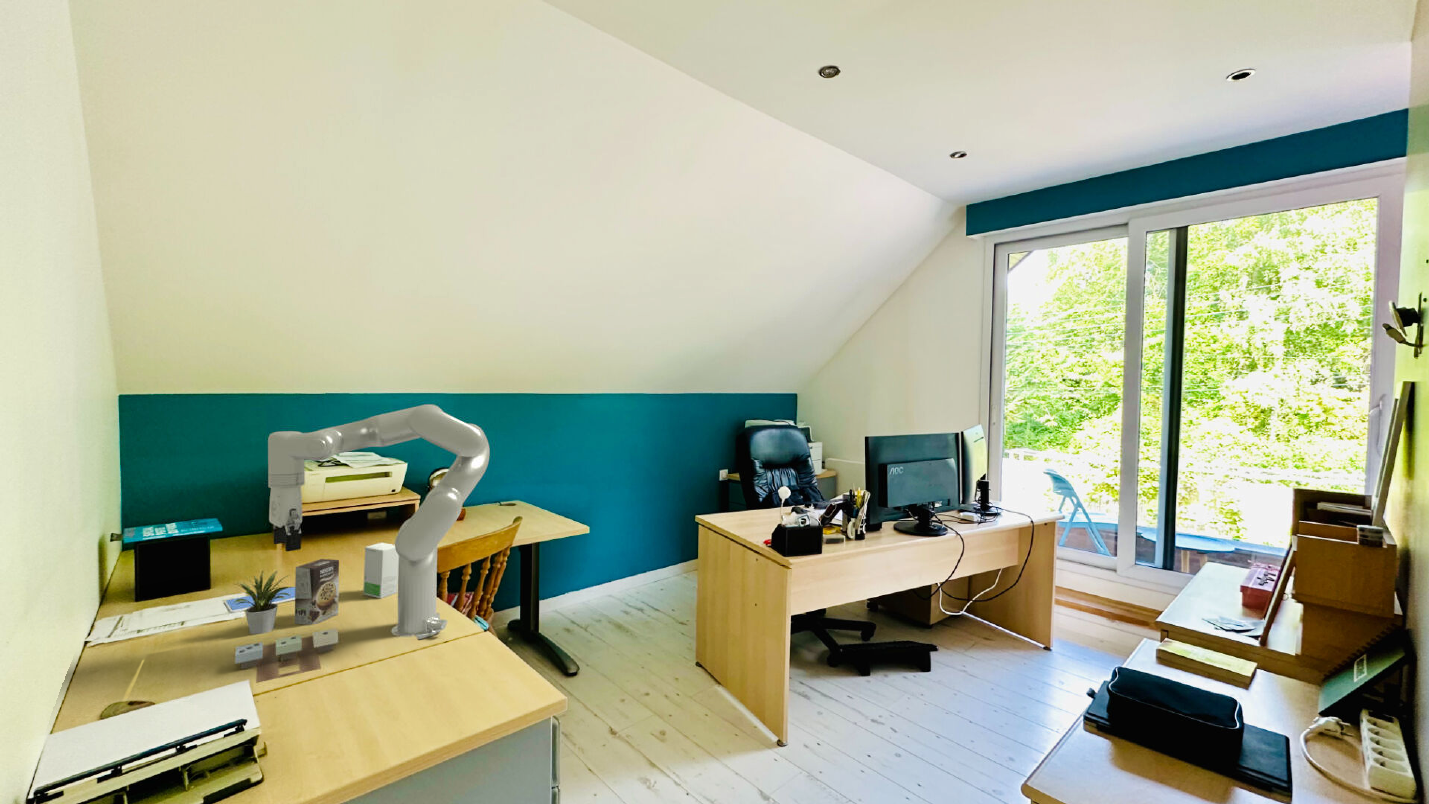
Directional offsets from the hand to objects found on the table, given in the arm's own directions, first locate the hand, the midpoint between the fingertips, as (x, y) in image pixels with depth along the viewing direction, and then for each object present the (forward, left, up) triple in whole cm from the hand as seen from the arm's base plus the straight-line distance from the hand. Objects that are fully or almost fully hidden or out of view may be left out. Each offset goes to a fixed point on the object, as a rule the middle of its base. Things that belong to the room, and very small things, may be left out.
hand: (287, 546), depth 153 cm
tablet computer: (+35, -25, -27) cm, 51 cm away
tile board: (-8, +7, -26) cm, 28 cm away
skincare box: (+6, -39, -26) cm, 47 cm away
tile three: (-3, +12, -25) cm, 28 cm away
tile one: (-13, +1, -25) cm, 28 cm away
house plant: (+15, -5, -26) cm, 31 cm away
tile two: (-8, +7, -25) cm, 27 cm away
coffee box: (+8, -17, -26) cm, 32 cm away
